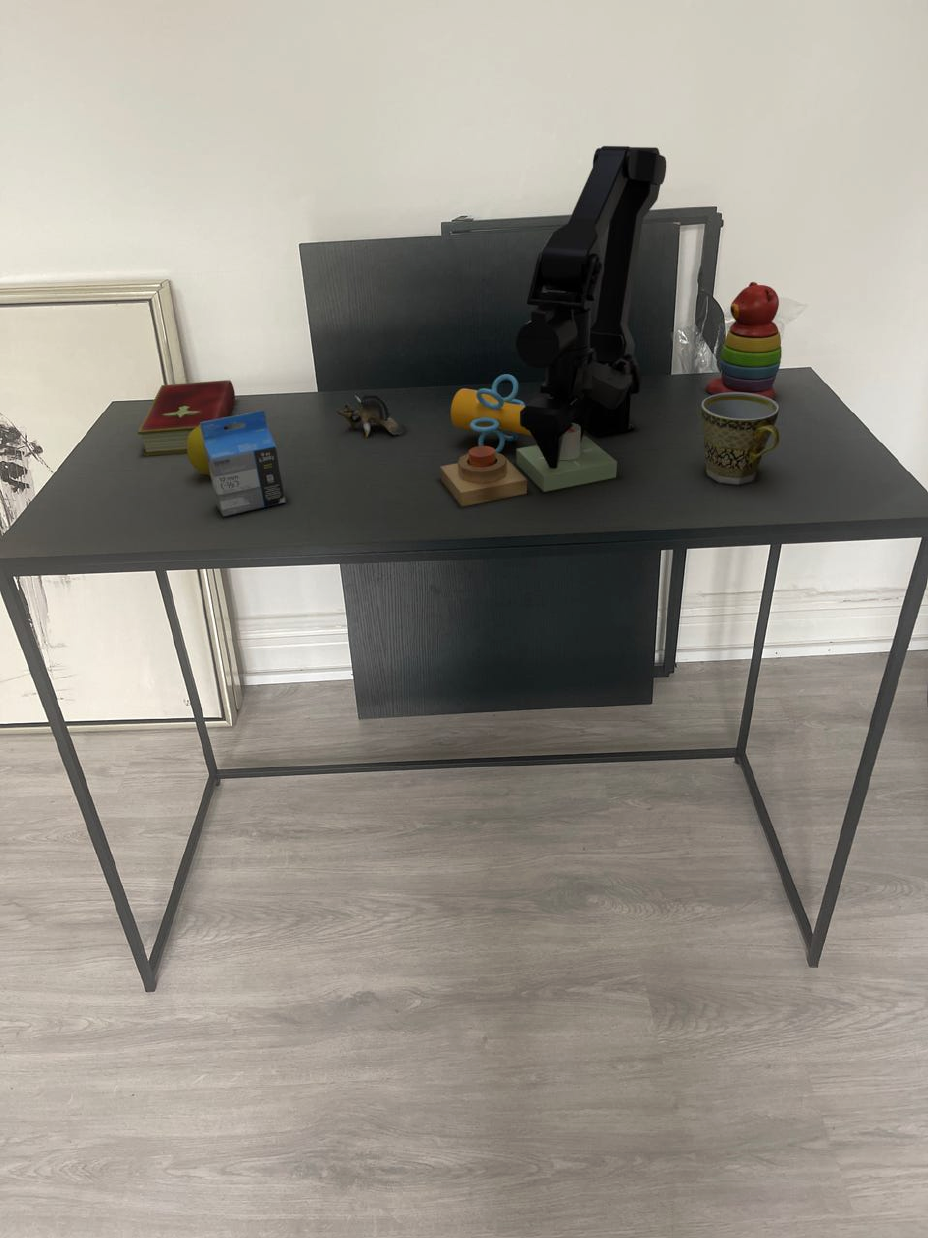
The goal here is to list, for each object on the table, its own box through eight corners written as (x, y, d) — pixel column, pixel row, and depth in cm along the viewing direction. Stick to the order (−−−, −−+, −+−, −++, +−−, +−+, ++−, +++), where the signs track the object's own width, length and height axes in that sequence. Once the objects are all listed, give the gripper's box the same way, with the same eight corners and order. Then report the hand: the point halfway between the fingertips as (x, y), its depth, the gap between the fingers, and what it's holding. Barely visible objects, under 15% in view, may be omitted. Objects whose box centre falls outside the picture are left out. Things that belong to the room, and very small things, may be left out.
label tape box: (222, 518, 122) (203, 431, 115) (216, 506, 125) (198, 421, 118) (286, 503, 125) (271, 418, 118) (279, 492, 128) (264, 408, 121)
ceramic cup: (680, 468, 129) (686, 400, 123) (738, 453, 132) (747, 386, 126) (737, 505, 119) (747, 433, 113) (799, 488, 122) (811, 417, 116)
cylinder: (440, 455, 136) (529, 475, 129) (436, 388, 130) (529, 405, 123) (481, 426, 144) (566, 443, 138) (479, 361, 138) (568, 376, 132)
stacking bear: (702, 387, 154) (714, 279, 144) (760, 382, 155) (776, 274, 145) (724, 410, 145) (738, 296, 135) (786, 405, 146) (804, 291, 136)
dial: (547, 451, 129) (547, 422, 127) (572, 446, 130) (573, 418, 128) (558, 462, 126) (558, 433, 124) (584, 457, 127) (585, 428, 124)
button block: (503, 468, 131) (502, 442, 129) (527, 494, 124) (527, 467, 122) (440, 480, 129) (439, 454, 126) (461, 507, 122) (460, 479, 119)
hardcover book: (236, 401, 159) (231, 378, 156) (221, 449, 141) (216, 423, 139) (166, 406, 158) (161, 383, 156) (143, 455, 141) (137, 430, 138)
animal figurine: (336, 435, 141) (389, 428, 138) (334, 389, 141) (387, 381, 138) (358, 444, 148) (409, 437, 145) (356, 400, 148) (407, 393, 145)
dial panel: (585, 451, 135) (585, 434, 133) (616, 477, 127) (617, 460, 125) (516, 464, 132) (516, 447, 130) (543, 492, 124) (543, 474, 123)
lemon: (198, 487, 130) (186, 435, 126) (189, 473, 134) (177, 422, 130) (236, 478, 132) (225, 426, 128) (226, 465, 136) (215, 414, 132)
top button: (489, 455, 126) (489, 443, 125) (499, 465, 123) (499, 453, 122) (465, 460, 125) (465, 448, 124) (474, 470, 122) (473, 458, 121)
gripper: (602, 373, 109) (597, 491, 118) (648, 329, 123) (641, 438, 132) (517, 363, 114) (518, 478, 122) (571, 322, 127) (568, 428, 136)
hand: (565, 454), depth 128 cm, fingers open, 9 cm apart
